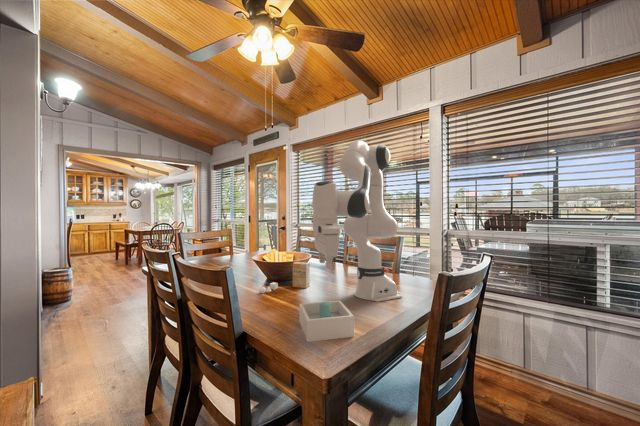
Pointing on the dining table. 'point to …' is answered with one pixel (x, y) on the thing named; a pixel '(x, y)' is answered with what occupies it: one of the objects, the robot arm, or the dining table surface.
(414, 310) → the dining table surface
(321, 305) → the peg
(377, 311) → the dining table surface
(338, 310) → the peg box
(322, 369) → the dining table surface
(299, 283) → the supplement box
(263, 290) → the game pieces
